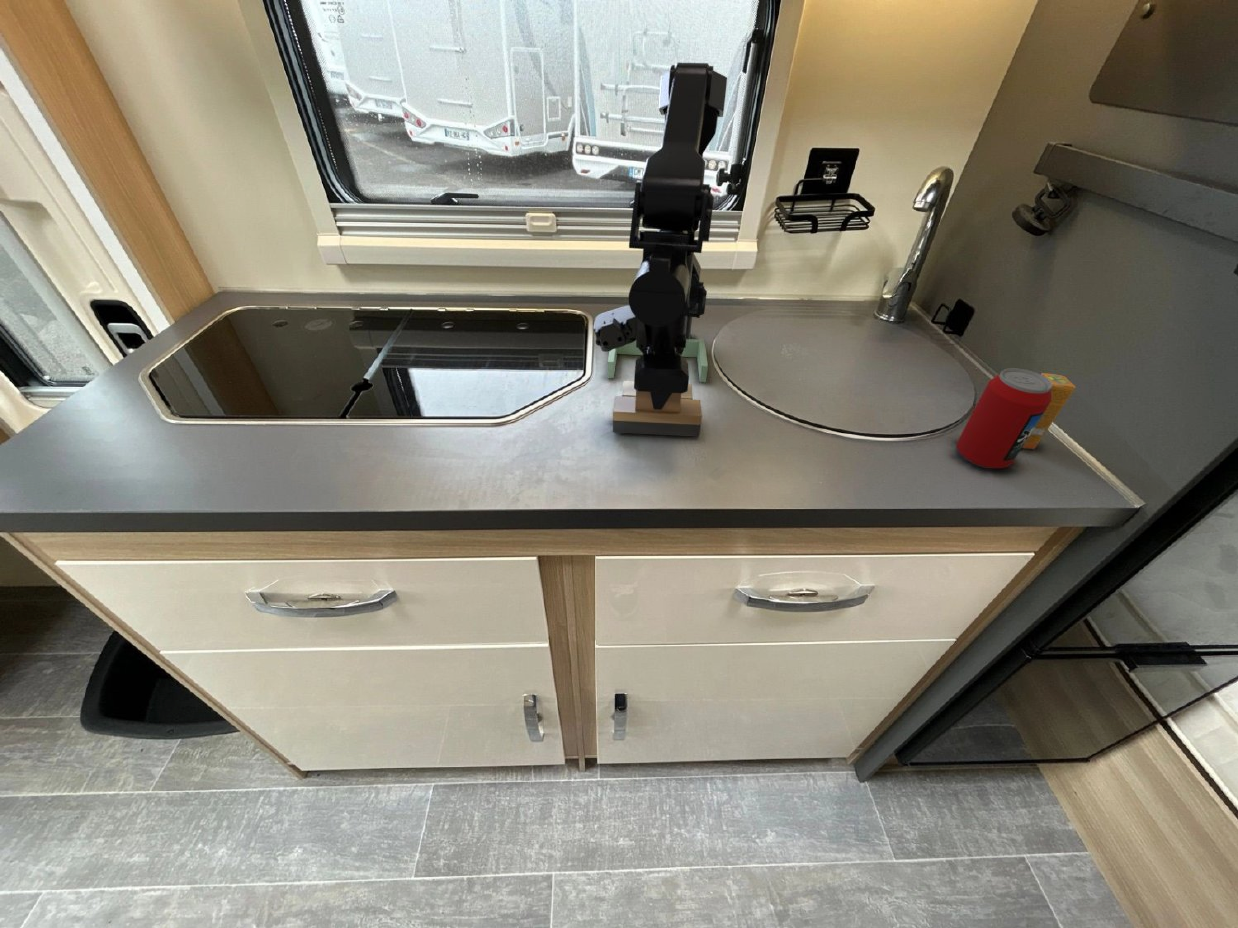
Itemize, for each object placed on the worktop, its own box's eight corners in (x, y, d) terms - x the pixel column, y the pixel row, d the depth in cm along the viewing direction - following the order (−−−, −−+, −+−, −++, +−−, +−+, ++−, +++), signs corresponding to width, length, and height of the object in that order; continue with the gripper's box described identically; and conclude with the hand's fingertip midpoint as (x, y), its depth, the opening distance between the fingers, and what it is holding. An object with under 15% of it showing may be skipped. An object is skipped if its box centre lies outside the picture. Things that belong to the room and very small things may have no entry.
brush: (614, 416, 76) (615, 370, 71) (697, 420, 75) (703, 374, 71) (612, 432, 73) (612, 386, 68) (699, 436, 72) (705, 390, 68)
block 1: (623, 403, 80) (623, 380, 77) (649, 405, 80) (650, 382, 77) (621, 418, 77) (621, 395, 74) (648, 419, 76) (650, 396, 74)
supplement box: (1037, 450, 72) (1079, 387, 66) (1010, 447, 72) (1049, 384, 66) (1027, 436, 74) (1066, 374, 68) (1001, 433, 75) (1037, 371, 69)
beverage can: (1018, 476, 68) (1070, 396, 60) (961, 469, 69) (1005, 390, 61) (999, 445, 73) (1045, 368, 65) (947, 439, 74) (986, 362, 66)
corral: (612, 351, 93) (612, 335, 91) (702, 355, 92) (704, 339, 90) (607, 378, 86) (607, 361, 84) (705, 382, 85) (708, 366, 83)
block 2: (662, 405, 79) (664, 382, 77) (689, 406, 79) (691, 383, 77) (662, 420, 76) (664, 397, 74) (690, 421, 76) (692, 398, 74)
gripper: (604, 261, 69) (604, 366, 79) (588, 321, 55) (591, 440, 65) (688, 264, 69) (678, 369, 79) (695, 325, 54) (682, 444, 64)
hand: (657, 402), depth 72 cm, fingers closed on brush, 3 cm apart
